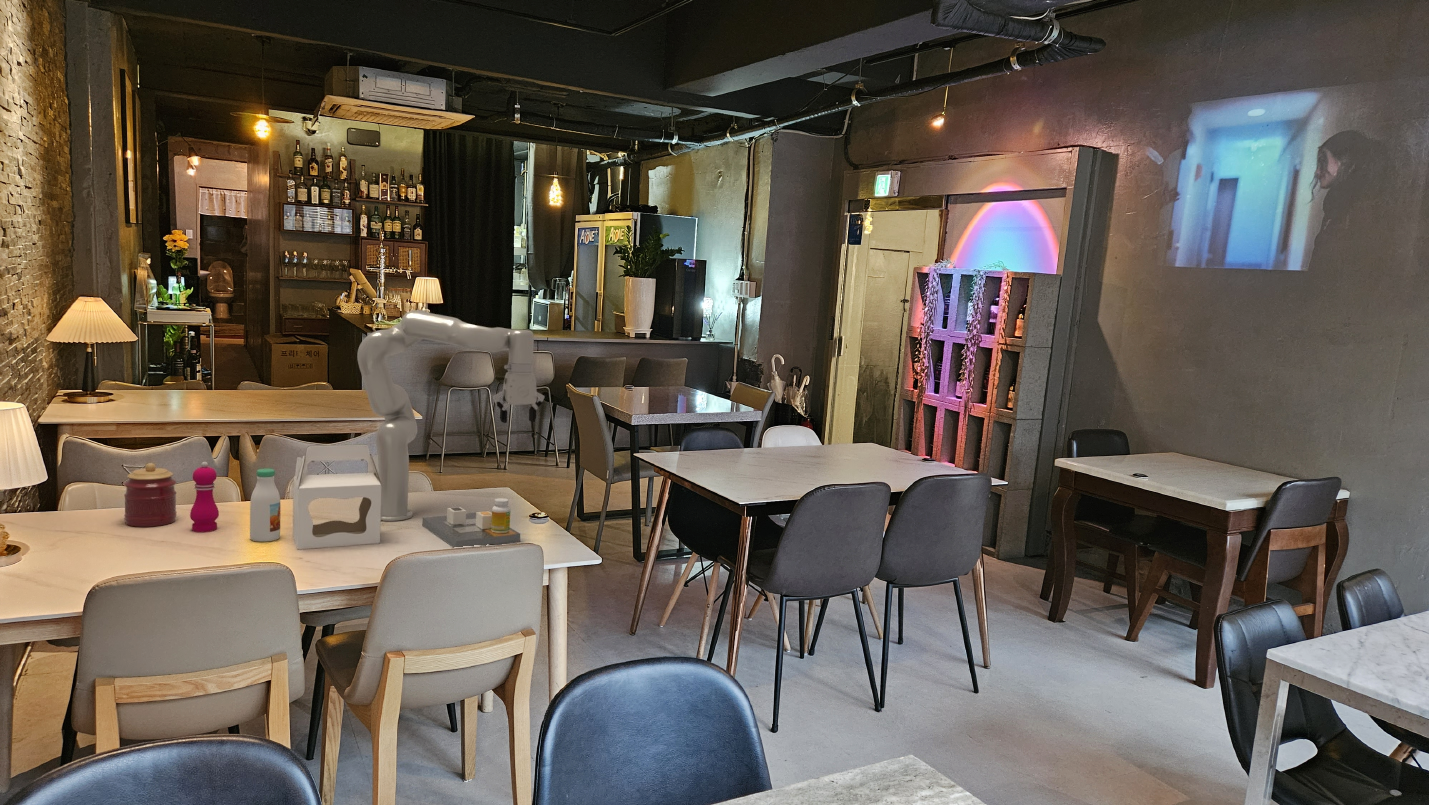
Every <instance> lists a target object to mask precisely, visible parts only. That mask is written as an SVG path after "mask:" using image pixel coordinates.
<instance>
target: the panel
mask: <svg viewBox="0 0 1429 805" xmlns="http://www.w3.org/2000/svg"><path fill="white" fill-rule="evenodd" d="M421 520H422V521H421V522H422V523H421V525H422V527H424V528H425V529H427V530H428V531H429V532H431V533H432V534H433V535H435V536H436V537H437V538H439V539H440V540H442V541H443V542H444V543H445V544H448V545H449V546H450V547H451V548H453V547H463V546H474V545H487V544H497V545H501V544H500V543H505V544H511V543H510V542H513V543H520V542H521V533H520V532H519V531H517V530H515V529H514V528H511V527H510V530H509V532H507V533H494V532H492V531H491V528H489V529H481V528H480V527H478V526H476V512H469V513H467V512H466V523H465V524H455V525H453V524H451V523H450V522H448V521H447V514H446V515H439V516H427V517H422V519H421Z"/></svg>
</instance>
